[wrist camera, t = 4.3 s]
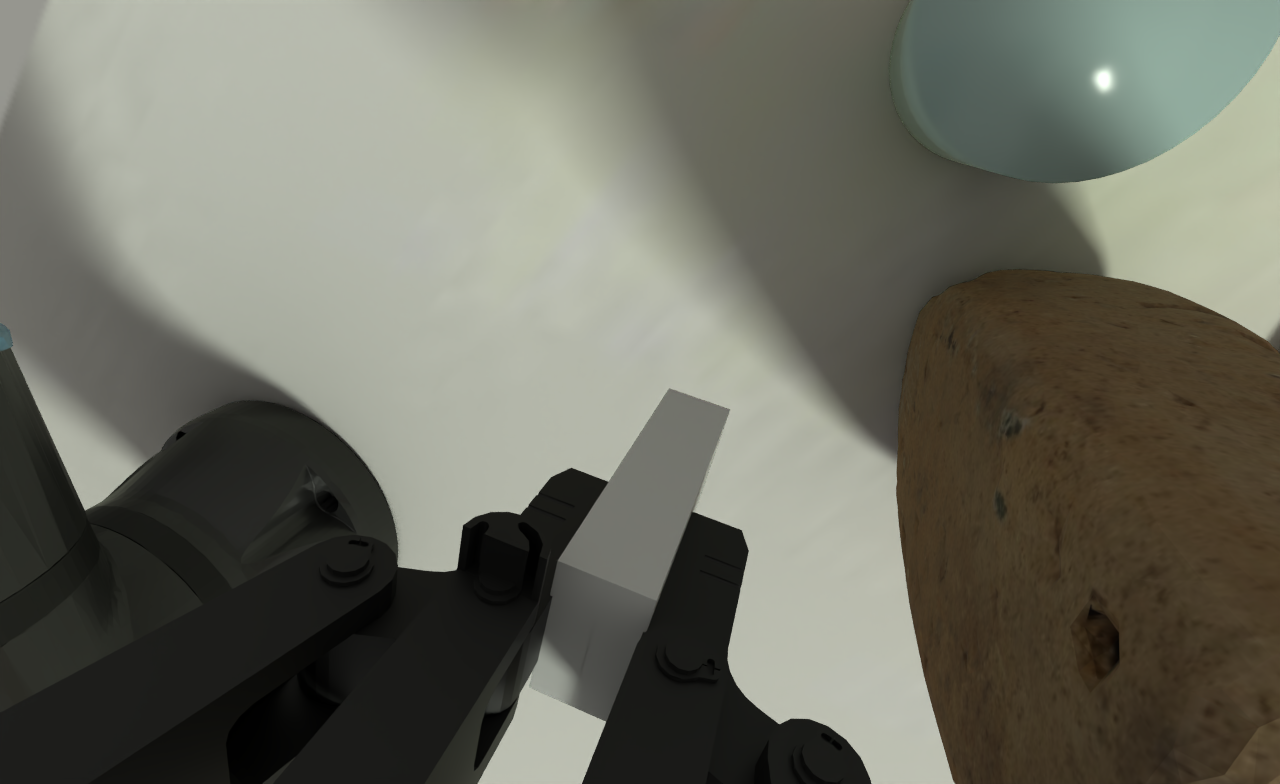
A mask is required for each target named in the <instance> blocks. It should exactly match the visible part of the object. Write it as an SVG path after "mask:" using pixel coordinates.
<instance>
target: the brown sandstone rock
mask: <svg viewBox="0 0 1280 784" xmlns="http://www.w3.org/2000/svg"><path fill="white" fill-rule="evenodd" d="M896 496H897V504H898V518H899V528H900V538H901V546H902V554H903V560H904V566H905V574H906V582H907V589H908V596H909V603H910V609H911V614H912V619H913V625H914V630H915V634H916V639H917V644H918V649H919V654H920V658H921V663H922V668H923V673H924V677H925V681H926V685H927V688H928V692H929V696H930V700H931V704H932V707H933V711H934V714H935V718H936V722H937V725H938V729H939V732H940V736H941V739H942V743H943V746H944V749H945V753H946V756H947V760H948V764H949V767H950V771H951V774H952V778H953V781H954V782H955V784H1280V353H1279V352H1278V351H1277V350H1276V349H1275V348H1274V347H1273V346H1272V345H1271V344H1270V343H1269V342H1268V341H1266V340H1265V339H1263V338H1261V337H1260V336H1258V335H1256V334H1255V333H1253V332H1251V331H1250V330H1248V329H1246V328H1245V327H1243V326H1242V325H1240V324H1238V323H1237V322H1235V321H1233V320H1231V319H1229V318H1227V317H1225V316H1223V315H1221V314H1219V313H1217V312H1215V311H1213V310H1210V309H1208V308H1206V307H1204V306H1201V305H1199V304H1197V303H1195V302H1192V301H1190V300H1188V299H1186V298H1183V297H1181V296H1178V295H1176V294H1173V293H1171V292H1169V291H1166V290H1162V289H1159V288H1155V287H1152V286H1148V285H1145V284H1141V283H1138V282H1134V281H1128V280H1121V279H1115V278H1109V277H1103V276H1098V275H1090V274H1078V273H1059V272H1053V271H1040V270H1022V269H1014V270H999V271H994V272H989V273H986V274H983V275H981V276H979V277H978V278H976V279H974V280H973V281H969V282H963V283H960V284H957V285H954V286H951V287H949V288H948V289H947V290H945V291H944V292H943V293H942V294H941V295H938V296H935V297H932V298H931V300H930V301H929V302H928V303H927V304H926V305H925V306H924V308H923V309H922V310H921V311H920V313H919V316H918V319H917V322H916V325H915V328H914V331H913V335H912V339H911V342H910V346H909V350H908V354H907V360H906V366H905V372H904V376H903V379H902V392H901V398H900V404H899V418H898V456H897V486H896Z"/></svg>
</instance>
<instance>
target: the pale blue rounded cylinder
mask: <svg viewBox="0 0 1280 784" xmlns="http://www.w3.org/2000/svg"><path fill="white" fill-rule="evenodd" d="M1279 35H1280V0H910V2H909V4H908V5H907V7H906V9H905V11H904V13H903V15H902V17H901V20H900V22H899V24H898V27H897V30H896V33H895V36H894V40H893V44H892V49H891V55H890V66H889V78H890V88H891V93H892V98H893V102H894V105H895V108H896V110H897V113H898V115H899V117H900V119H901V121H902V122H903V124H904V126H905V127H906V128H907V130H908V131H909V132H910V134H911V135H912V136H913V137H914V138H915V139H916V140H917V141H918V142H919V143H920V144H921V145H923V146H924V147H926V148H927V149H928V150H930V151H931V152H933V153H935V154H937V155H939V156H941V157H943V158H946V159H949V160H952V161H954V162H958V163H962V164H965V165H969V166H972V167H976V168H979V169H983V170H987V171H990V172H994V173H997V174H1001V175H1004V176H1008V177H1012V178H1016V179H1021V180H1026V181H1031V182H1044V183H1066V182H1079V181H1085V180H1090V179H1096V178H1101V177H1105V176H1108V175H1112V174H1115V173H1119V172H1122V171H1125V170H1127V169H1130V168H1132V167H1135V166H1137V165H1140V164H1142V163H1145V162H1147V161H1149V160H1151V159H1153V158H1155V157H1157V156H1159V155H1161V154H1163V153H1165V152H1166V151H1168V150H1170V149H1172V148H1173V147H1175V146H1177V145H1178V144H1180V143H1181V142H1183V141H1184V140H1186V139H1187V138H1189V137H1190V136H1192V135H1193V134H1195V133H1196V132H1197V131H1198V130H1200V129H1201V128H1202V127H1203V126H1205V125H1206V124H1207V123H1208V122H1210V121H1211V120H1212V119H1213V118H1215V117H1216V116H1217V115H1218V114H1219V113H1220V112H1221V111H1222V110H1223V109H1224V108H1225V107H1226V106H1227V105H1228V104H1229V103H1230V102H1231V101H1232V100H1233V99H1234V98H1235V97H1236V96H1237V95H1238V94H1239V93H1240V92H1241V90H1242V89H1243V88H1244V87H1245V86H1246V85H1247V83H1248V82H1249V81H1250V80H1251V79H1252V77H1253V76H1254V75H1255V74H1256V72H1257V71H1258V69H1259V68H1260V66H1261V65H1262V63H1263V62H1264V61H1265V59H1266V58H1267V56H1268V55H1269V53H1270V52H1271V50H1272V48H1273V46H1274V45H1275V43H1276V41H1277V39H1278V37H1279Z"/></svg>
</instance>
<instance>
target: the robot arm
mask: <svg viewBox="0 0 1280 784" xmlns="http://www.w3.org/2000/svg"><path fill="white" fill-rule="evenodd" d="M12 343H13V342H12V338H11V334H10V330H9V329H8V328H7V327H6V326H4V325H3V324H2V323H0V784H477V783H478V781H479V780H480V778H481V776H482V774H483V772H484V770H485V769H486V767H487V765H488V763H489V761H490V759H491V758H492V756H493V754H494V752H495V750H496V748H497V747H498V745H499V743H500V741H501V739H502V738H503V736H504V734H505V732H506V730H507V728H508V727H509V725H510V723H511V721H512V719H513V717H514V714H515V710H516V707H517V704H518V699H519V694H520V692H521V690H522V688H523V687H524V685H525V683H526V681H527V680H528V678H529V676H530V674H531V672H532V671H533V672H532V676H531V681H530V685H529V687H530V688H532V689H534V690H536V691H539V692H541V693H543V694H545V695H548V696H550V697H552V698H554V699H557V700H559V701H561V702H563V703H566V704H568V705H570V706H572V707H575V708H577V709H579V710H581V711H584V712H586V713H588V714H590V715H593V716H595V717H597V718H599V719H602V720H604V721H606V724H605V727H604V729H603V732H602V734H601V737H600V739H599V742H598V744H597V747H596V749H595V752H594V755H593V757H592V760H591V762H590V765H589V767H588V770H587V772H586V775H585V777H584V780H583V782H582V784H871V780H870V777H869V775H868V773H867V771H866V768H865V766H864V764H863V762H862V760H861V758H860V756H859V755H858V754H857V753H856V751H855V750H854V749H853V748H852V747H851V745H850V744H849V743H848V742H847V740H846V739H844V738H843V737H842V736H840V735H839V734H838V733H836V732H835V731H834V730H832V729H831V728H829V727H828V726H826V725H823V724H821V723H818V722H815V721H813V720H810V719H790V720H788V721H786V722H784V723H782V724H778V723H777V722H775V721H774V720H773V719H771V718H770V717H769V716H767V715H766V714H765V713H764V712H762V711H761V710H760V709H758V708H757V707H756V706H755V705H754V704H753V703H752V702H751V701H749V700H748V699H747V698H746V697H745V696H744V694H743V693H742V692H741V690H740V689H739V688H738V686H737V685H736V683H735V681H734V679H733V677H732V675H731V673H730V670H729V665H728V661H727V657H728V646H729V641H730V637H731V632H732V627H733V622H734V618H735V613H736V608H737V604H738V599H739V594H740V588H741V585H742V580H743V575H744V574H743V573H744V570H745V566H746V561H747V556H748V552H749V550H748V547H747V544H746V542H745V539H744V536H743V533H742V530H739V529H737V528H734V527H732V526H729V525H726V524H724V523H721V522H718V521H716V520H713V519H710V518H708V517H705V516H702V515H700V514H697V513H695V510H696V507H697V505H698V502H699V499H700V496H701V493H702V490H703V487H704V484H705V481H706V479H707V476H708V473H709V470H710V467H711V464H712V461H713V458H714V455H715V452H716V449H717V446H718V443H719V441H720V438H721V435H722V432H723V429H724V426H725V423H726V420H727V417H728V414H729V411H730V409H727V408H724V407H721V406H719V405H716V404H713V403H710V402H707V401H704V400H701V399H698V398H695V397H693V396H690V395H687V394H684V393H681V392H678V391H675V390H672V389H670V388H669V390H668V391H667V393H666V394H665V396H664V397H663V399H662V400H661V402H660V403H659V405H658V407H657V408H656V410H655V411H654V413H653V414H652V416H651V417H650V419H649V420H648V422H647V424H646V425H645V427H644V428H643V430H642V431H641V433H640V434H639V436H638V437H637V439H636V441H635V442H634V444H633V445H632V447H631V448H630V450H629V451H628V453H627V454H626V456H625V458H624V459H623V461H622V462H621V464H620V465H619V467H618V468H617V470H616V471H615V473H614V475H613V476H612V478H611V479H610V481H609V482H607V481H605V480H602V479H599V478H597V477H594V476H592V475H589V474H586V473H584V472H581V471H578V470H576V469H573V468H570V469H568V470H566V471H564V472H561V473H559V474H557V475H555V476H553V477H551V478H550V479H549V481H548V482H547V483H546V484H545V485H544V487H543V488H542V489H541V490H540V492H539V494H538V495H536V496H535V498H534V499H533V500H532V501H531V503H530V504H529V506H528V508H526V509H525V510H524V511H523V512H522V514H521V515H519V514H515V513H510V512H491V513H487V514H484V515H480V516H477V517H474V518H473V519H472V520H470V521H469V522H467V523H466V524H464V525H463V530H462V538H461V545H460V553H459V560H458V568H457V570H456V571H448V572H433V571H423V570H416V569H408V568H400V567H398V565H397V559H398V541H397V534H396V529H395V525H394V521H393V518H392V515H391V512H390V509H389V507H388V505H387V502H386V500H385V498H384V496H383V494H382V492H381V490H380V489H379V487H378V485H377V484H376V482H375V480H374V479H373V477H372V476H371V474H370V473H369V472H368V470H367V469H366V468H365V466H364V465H363V464H362V463H361V461H360V460H359V459H358V458H357V457H356V456H355V454H354V453H353V452H352V451H351V450H350V449H349V448H348V447H347V446H346V445H345V444H344V443H342V442H341V441H340V440H339V439H338V438H337V437H336V436H334V435H333V434H332V433H331V432H329V431H328V430H327V429H325V428H324V427H322V426H321V425H319V424H318V423H316V422H315V421H313V420H311V419H310V418H308V417H306V416H304V415H302V414H300V413H298V412H296V411H294V410H291V409H289V408H286V407H283V406H280V405H277V404H273V403H268V402H262V401H239V402H234V403H230V404H227V405H224V406H222V407H220V408H218V409H215V410H213V411H211V412H209V413H207V414H205V415H202V416H200V417H198V418H196V419H194V420H192V421H190V422H188V423H187V424H185V425H184V426H182V427H181V428H180V429H178V430H177V431H176V432H175V433H174V434H173V435H172V436H171V437H170V438H169V439H168V440H167V441H166V443H165V444H164V446H163V447H162V450H161V451H160V452H159V453H157V454H156V455H155V456H153V457H152V458H150V459H149V460H148V461H147V462H145V463H144V464H143V465H142V466H140V467H139V468H138V469H137V470H136V471H135V472H134V473H132V474H131V475H130V476H129V477H128V478H127V479H126V480H125V481H124V482H123V483H122V484H121V485H120V486H118V487H117V488H116V489H115V490H114V491H113V492H112V493H111V494H110V495H109V496H108V497H107V498H106V499H105V500H103V501H102V502H100V503H99V504H97V505H95V506H93V507H91V508H89V509H87V510H84V508H83V506H82V503H81V501H80V499H79V497H78V495H77V492H76V490H75V488H74V486H73V484H72V481H71V479H70V477H69V475H68V473H67V470H66V468H65V466H64V464H63V462H62V460H61V457H60V455H59V453H58V451H57V449H56V446H55V444H54V442H53V440H52V438H51V435H50V433H49V431H48V429H47V427H46V424H45V422H44V420H43V418H42V416H41V413H40V411H39V409H38V407H37V405H36V402H35V400H34V398H33V396H32V394H31V392H30V389H29V387H28V385H27V383H26V381H25V378H24V376H23V374H22V372H21V370H20V367H19V365H18V363H17V361H16V359H15V356H14V354H13V352H12V350H11V347H12V346H13V345H12Z"/></svg>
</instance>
